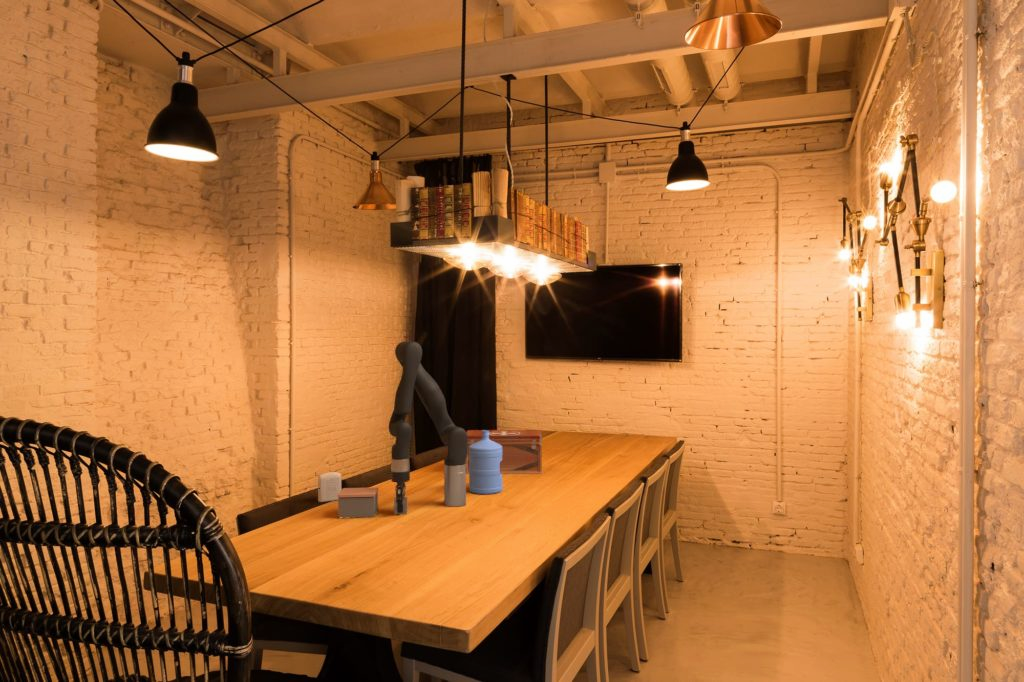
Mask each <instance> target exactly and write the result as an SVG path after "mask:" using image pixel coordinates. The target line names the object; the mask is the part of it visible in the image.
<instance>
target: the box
mask: <svg viewBox="0 0 1024 682" xmlns="http://www.w3.org/2000/svg"><path fill="white" fill-rule="evenodd" d="M378 493H379V490H378V491H377V493H376V495H375V497H340V498H338V500H337V502H338V503H337V504H338V505H337V506H338V508H337V509H338V510H337V511H338V512H337V513H338V517H339V518H338V519H341V518H340V517H343V518H342V519H346V518H345V517H374V516H375V517H376V515H377V513H376V512H378V510H379V498H378V497H379V494H378ZM375 514H376V515H375ZM375 517H374V518H375Z"/></svg>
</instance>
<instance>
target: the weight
mask: <svg viewBox="0 0 1024 682" xmlns="http://www.w3.org/2000/svg"><path fill="white" fill-rule="evenodd" d="M398 500H401V498H398ZM393 514H406V515H407V514H408V496H405V497H404V498H403V512H402V513H398V512H397V503H396V496H394V499H393Z"/></svg>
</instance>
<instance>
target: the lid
mask: <svg viewBox="0 0 1024 682" xmlns="http://www.w3.org/2000/svg"><path fill="white" fill-rule="evenodd" d="M377 491H378V492H379V487H377V486H376V487H374V486H373V487H343V488H341V491H340V492H339V494H338V495H337V498H340V497H375V495H376V493H377Z"/></svg>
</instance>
